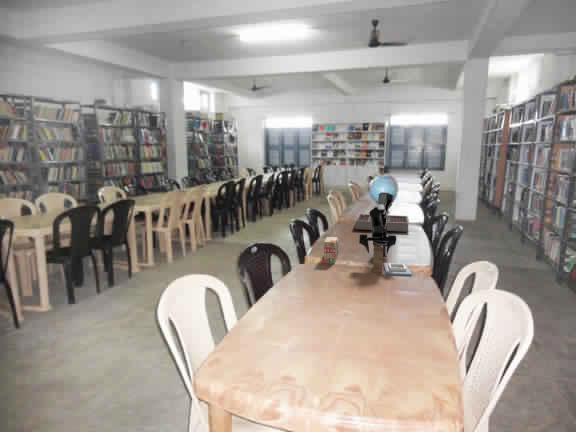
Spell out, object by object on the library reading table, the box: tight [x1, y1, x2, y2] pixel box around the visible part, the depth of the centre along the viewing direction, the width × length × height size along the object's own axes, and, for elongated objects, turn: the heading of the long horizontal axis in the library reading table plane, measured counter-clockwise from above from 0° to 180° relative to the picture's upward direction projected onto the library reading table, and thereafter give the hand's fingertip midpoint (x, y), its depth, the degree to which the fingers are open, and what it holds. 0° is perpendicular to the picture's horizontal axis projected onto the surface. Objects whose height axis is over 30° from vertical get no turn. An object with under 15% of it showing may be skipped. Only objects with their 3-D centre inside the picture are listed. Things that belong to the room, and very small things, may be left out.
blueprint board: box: [383, 262, 413, 277], centre depth 203 cm, size 18×12×2 cm, turn 172°
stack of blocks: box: [323, 236, 340, 264], centre depth 224 cm, size 21×6×12 cm, turn 168°
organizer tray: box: [354, 212, 410, 233], centre depth 309 cm, size 32×40×10 cm
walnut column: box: [372, 245, 384, 273], centre depth 201 cm, size 4×4×13 cm
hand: (377, 253), depth 202 cm, fingers open, 9 cm apart
